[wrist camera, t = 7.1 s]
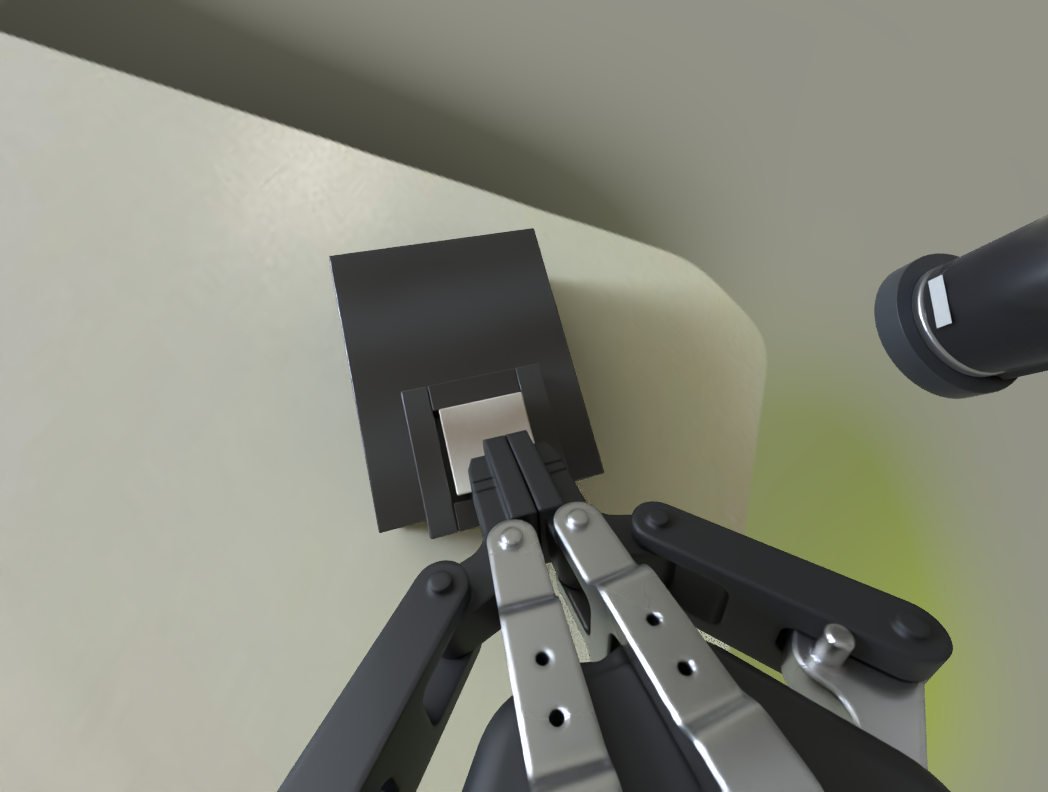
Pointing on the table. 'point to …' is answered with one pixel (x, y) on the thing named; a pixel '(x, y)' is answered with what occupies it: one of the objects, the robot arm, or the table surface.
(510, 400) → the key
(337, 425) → the table surface
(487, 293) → the black square panel
